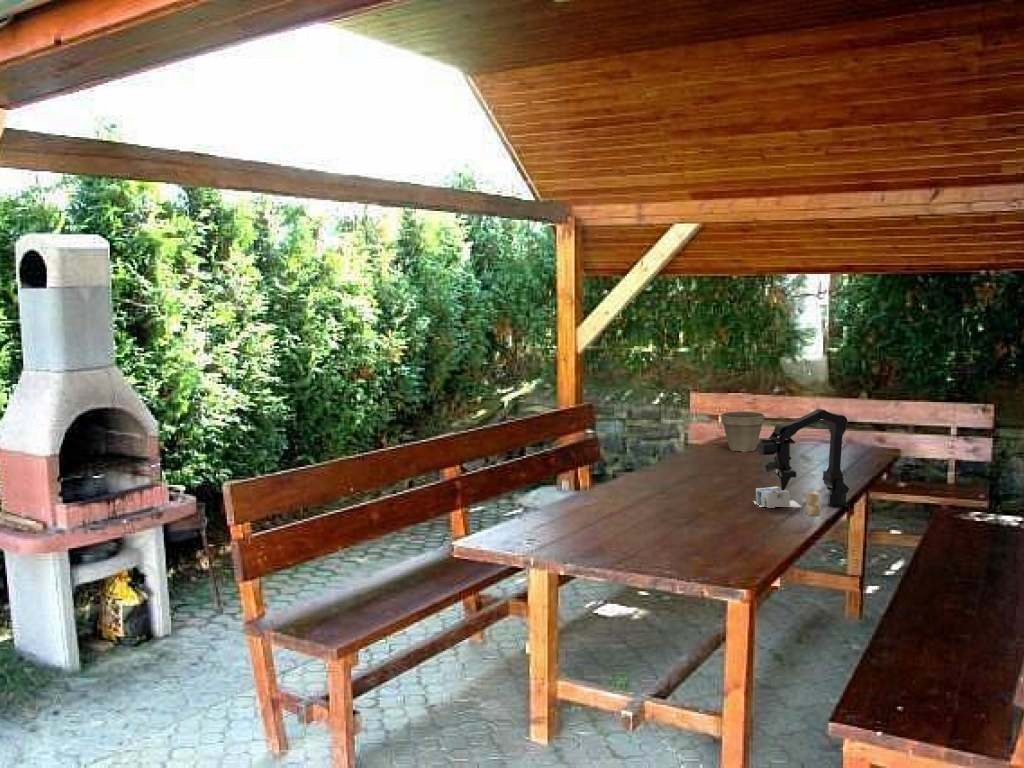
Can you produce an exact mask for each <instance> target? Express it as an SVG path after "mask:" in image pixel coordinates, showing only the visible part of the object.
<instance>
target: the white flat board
mask: <svg viewBox="0 0 1024 768" xmlns="http://www.w3.org/2000/svg"><path fill="white" fill-rule="evenodd" d="M753 502H754V503H753ZM752 503H753V504H754V505H756V504H757V505H759V504H758V503H756V500H752ZM757 505H756V506H757ZM759 507H764V506H762V505H759ZM759 507H758V508H759ZM784 507H793V508H803V506H802V505H800V504H799V503H798V502H796V501H795V500H790V506H784Z"/></svg>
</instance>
